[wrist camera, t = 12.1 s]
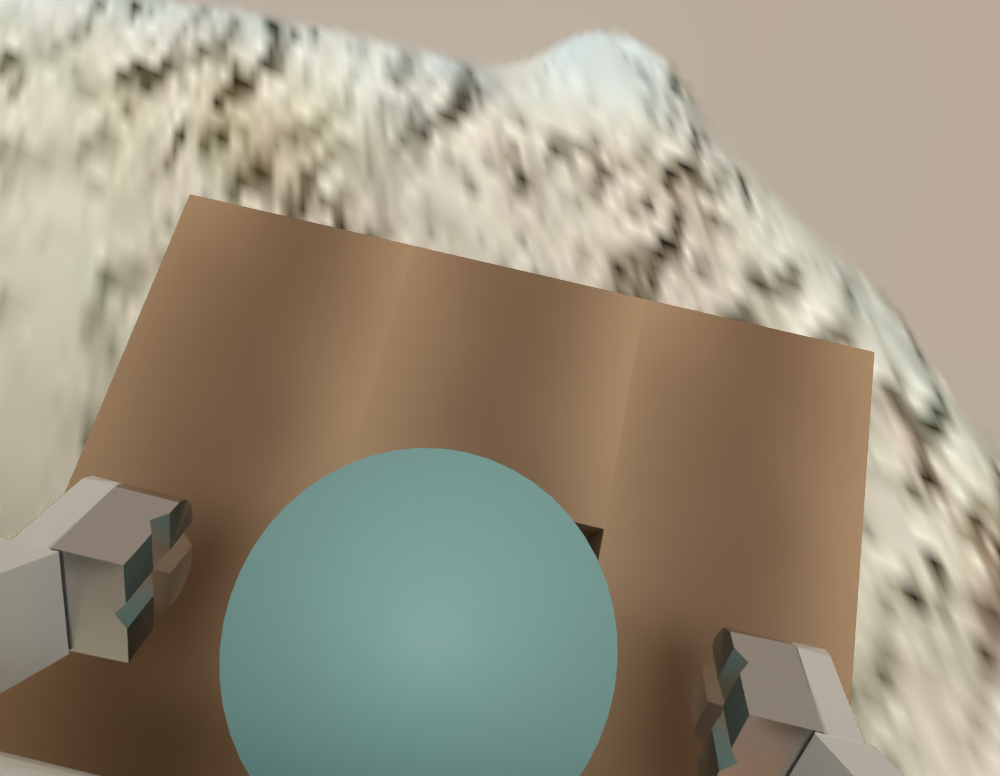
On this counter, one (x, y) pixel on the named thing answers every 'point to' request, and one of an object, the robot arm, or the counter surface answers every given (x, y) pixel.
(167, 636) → the bore block
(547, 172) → the counter surface
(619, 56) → the counter surface
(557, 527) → the pin
